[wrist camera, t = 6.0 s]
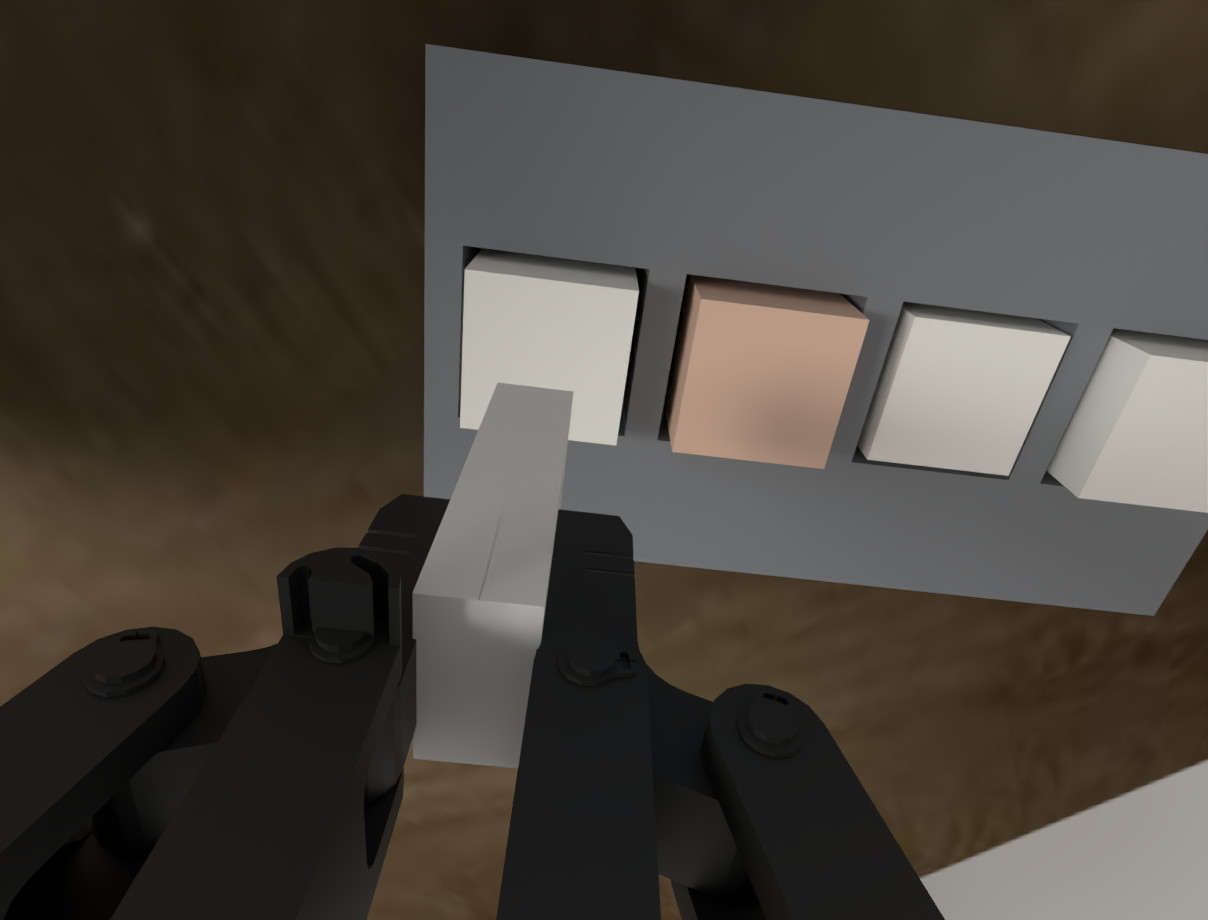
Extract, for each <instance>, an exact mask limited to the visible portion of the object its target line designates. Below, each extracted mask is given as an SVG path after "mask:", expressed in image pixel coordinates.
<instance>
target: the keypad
mask: <svg viewBox="0 0 1208 920" xmlns="http://www.w3.org/2000/svg"><path fill="white" fill-rule="evenodd" d="M480 248H486V249H494V250H501V251H509V252H517V253H525V254H533V255H541V256H549V257H557V258H565V259H572V260H580V261H588V262H596V263H604V264H612V265H620V266H628V267H636V268H642V271H641V278H640V284H639V294H638V301H637V308H636V315H635V322H634V329H633V335H632V342H631V349H630V356H629V363H628V369H627V376H626V383H625V390H624V397H623V404H622V410H621V417H620V424H619V431H618V438H617V444H616V445H607V444H598V443H589V442H580V441H572V440H568V445H567V454H566V464H565V473H564V482H563V491H562V500H561V510H570V511H579V512H588V513H597V514H606V515H615V516H620V518H621V519H622V521H623V522H624V523H625V525H626V526H627V528H628V529H629V531H630V532H631V533H632V535H633V555H634V556H633V560H634V561H637V562H647V563H656V564H666V565H675V566H685V567H694V568H704V569H713V570H723V571H732V572H742V573H751V574H761V575H770V576H780V577H789V578H799V579H808V580H818V581H827V582H837V583H846V584H856V585H865V586H875V587H884V588H894V589H903V590H913V591H922V592H932V593H941V594H951V595H960V596H970V597H979V598H989V599H998V600H1007V601H1017V602H1026V603H1036V604H1045V605H1055V606H1064V607H1074V608H1083V609H1093V610H1102V611H1112V612H1121V613H1131V614H1140V615H1150V616H1154V615H1155V613H1156V612H1157V610H1158V608H1159V607H1160V605H1161V604H1162V602H1163V600H1164V599H1165V597H1166V596H1167V594H1168V592H1169V591H1170V589H1171V588H1172V586H1173V584H1174V583H1175V581H1176V580H1177V578H1178V576H1179V575H1180V573H1181V572H1182V570H1183V568H1184V567H1185V565H1186V564H1187V562H1188V560H1189V559H1190V557H1191V556H1192V554H1193V552H1194V551H1195V549H1196V548H1197V546H1198V544H1199V543H1200V541H1201V540H1202V538H1203V536H1204V535H1205V533H1206V532H1207V530H1208V513H1205V512H1196V511H1187V510H1179V509H1170V508H1161V507H1152V506H1143V505H1135V504H1126V503H1117V502H1108V501H1099V500H1091V499H1082V498H1078V497H1076V496H1075V495H1074V494H1073V493H1072V492H1071V491H1069V490H1068V489H1067V488H1066V487H1065V486H1064V485H1062V484H1061V483H1060V482H1059V481H1058V480H1057V479H1055V478H1054V477H1053V476H1052V475H1051V474H1050V473H1049V472H1047V471H1046V470H1047V468H1048V466H1049V464H1050V461H1051V459H1052V457H1053V455H1054V453H1055V451H1056V449H1057V447H1058V445H1059V442H1060V440H1061V438H1062V436H1063V434H1064V432H1065V430H1066V428H1067V426H1068V423H1069V421H1070V419H1071V417H1072V415H1073V413H1074V411H1075V409H1076V407H1077V405H1078V402H1079V400H1080V398H1081V396H1082V394H1083V392H1084V390H1085V388H1086V386H1087V383H1088V381H1089V379H1090V377H1091V375H1092V373H1093V371H1094V369H1095V367H1096V364H1097V362H1098V360H1099V358H1100V356H1101V354H1102V352H1103V350H1104V348H1105V345H1106V343H1107V341H1108V339H1109V337H1110V335H1111V333H1112V331H1113V329H1114V328H1117V329H1125V330H1132V331H1140V332H1148V333H1156V334H1164V335H1172V336H1180V337H1188V338H1196V339H1203V340H1208V154H1204V153H1197V152H1190V151H1183V150H1176V149H1169V148H1161V147H1154V146H1147V145H1140V144H1133V143H1126V142H1119V141H1112V140H1105V139H1098V138H1090V137H1083V136H1076V135H1069V134H1062V133H1055V132H1048V131H1041V130H1034V129H1027V128H1019V127H1012V126H1005V125H998V124H991V123H984V122H977V121H970V120H963V119H956V118H949V117H941V116H934V115H927V114H920V113H913V112H906V111H899V110H892V109H885V108H878V107H870V106H863V105H856V104H849V103H842V102H835V101H828V100H821V99H814V98H807V97H800V96H792V95H785V94H778V93H771V92H764V91H757V90H750V89H743V88H736V87H729V86H721V85H714V84H707V83H700V82H693V81H686V80H679V79H672V78H665V77H658V76H650V75H643V74H636V73H629V72H622V71H615V70H608V69H601V68H594V67H587V66H580V65H572V64H565V63H558V62H551V61H544V60H537V59H530V58H523V57H516V56H509V55H501V54H494V53H487V52H480V51H473V50H466V49H459V48H452V47H445V46H438V45H431V44H425V292H424V497H433V498H442V499H451V497H452V494H453V492H454V489H455V487H456V484H457V482H458V479H459V477H460V474H461V472H462V469H463V467H464V464H465V462H466V459H467V457H468V454H469V452H470V450H471V447H472V445H473V442H474V440H475V437H476V435H477V432H478V430H475V429H466V428H460V409H461V376H462V343H463V310H464V277H465V268H466V267H467V266H468V265H469V264H470V262H471V261H472V260H473V259H474V258H475V256H476V255H477V254H478V253H479V252H480ZM687 274H691V275H699V276H707V277H714V278H722V279H730V280H738V281H746V282H754V283H762V284H770V285H777V286H785V287H793V288H801V289H809V290H817V291H825V292H833V293H839V294H840V295H841V296H843V297H844V298H845V299H846V300H847V301H848V302H850V303H851V304H852V305H853V306H854V307H855V308H856V309H858V310H859V311H860V312H861V313H862V314H863V315H865V316H866V317H867V318H868V319H869V320H870V321H869V324H868V327H867V330H866V334H865V337H864V340H863V343H862V347H861V350H860V353H859V357H858V360H857V363H856V366H855V370H854V373H853V376H852V379H851V383H850V386H849V389H848V392H847V396H846V399H845V402H844V406H843V409H842V412H841V415H840V419H839V422H838V425H837V428H836V432H835V435H834V438H833V441H832V445H831V448H830V451H829V455H828V458H827V461H826V464H825V468H824V469H818V468H809V467H800V466H792V465H783V464H774V463H765V462H756V461H748V460H739V459H730V458H721V457H712V456H704V455H695V454H686V453H677V452H672V447H671V442H670V436H669V430H668V424H667V419H666V413H665V406H666V403H664V400H665V394H666V389H667V383H668V377H669V372H670V366H671V360H672V355H673V349H674V343H675V338H676V332H677V326H678V321H679V315H680V309H681V304H682V298H683V292H684V287H685V281H686V275H687ZM903 302H912V303H919V304H927V305H935V306H943V307H951V308H959V309H967V310H975V311H983V312H990V313H998V314H1006V315H1014V316H1022V317H1030V318H1037V319H1039V320H1040V321H1042V322H1044V323H1046V324H1048V325H1050V326H1052V327H1054V328H1056V329H1058V330H1060V331H1061V332H1063V333H1065V334H1067V335H1069V336H1071V337H1070V340H1069V342H1068V344H1067V346H1066V348H1065V351H1064V353H1063V355H1062V357H1061V360H1060V362H1059V364H1058V366H1057V369H1056V371H1055V373H1054V375H1053V377H1052V380H1051V382H1050V384H1049V386H1048V389H1047V391H1046V393H1045V395H1044V398H1043V400H1042V402H1041V404H1040V407H1039V409H1038V411H1037V413H1036V415H1035V418H1034V420H1033V422H1032V424H1031V427H1030V429H1029V431H1028V433H1027V436H1026V438H1025V440H1024V442H1023V444H1022V447H1021V449H1020V451H1019V453H1018V456H1017V458H1016V460H1015V462H1014V465H1013V467H1012V469H1011V471H1010V474H1009V476H1006V475H997V474H988V473H980V472H971V471H962V470H953V469H945V468H936V467H927V466H919V465H910V464H901V463H892V462H884V461H875V460H867V459H866V457H865V456H864V454H863V453H862V452H861V450H860V449H859V447H858V446H857V443H858V440H859V437H860V434H861V431H862V428H863V425H864V422H865V419H866V416H867V413H868V410H869V406H870V403H871V400H872V397H873V394H874V391H875V388H876V385H877V382H878V379H879V376H880V373H881V370H882V366H883V363H884V360H885V357H886V354H887V351H888V348H889V345H890V342H891V339H892V336H893V333H894V330H895V326H896V323H897V320H898V317H899V314H900V311H901V308H902V305H903Z"/></svg>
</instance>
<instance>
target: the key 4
mask: <svg viewBox="0 0 1208 920" xmlns="http://www.w3.org/2000/svg"><path fill="white" fill-rule="evenodd" d="M1046 471H1047V472H1049V473H1050V474H1051V475H1052V476H1053V477H1054V478H1055V479H1057V480H1058V481H1059V482H1060V483H1061V484H1062V485H1064V486H1065V487H1066V488H1067V489H1068V490H1069V491H1071V492H1072V493H1073V494H1074V495H1075V496H1076V497H1078V498H1082V499H1091V500H1099V501H1108V502H1117V503H1126V504H1135V505H1143V506H1152V507H1161V508H1170V509H1179V510H1187V511H1196V512H1205V513H1208V340H1203V339H1196V338H1188V337H1180V336H1172V335H1164V334H1156V333H1148V332H1140V331H1132V330H1125V329H1117V328H1114V329H1113V331H1112V333H1111V335H1110V337H1109V339H1108V341H1107V343H1106V345H1105V348H1104V350H1103V352H1102V354H1101V356H1100V358H1099V360H1098V362H1097V364H1096V367H1095V369H1094V371H1093V373H1092V375H1091V377H1090V379H1089V381H1088V383H1087V386H1086V388H1085V390H1084V392H1083V394H1082V396H1081V398H1080V400H1079V402H1078V405H1077V407H1076V409H1075V411H1074V413H1073V415H1072V417H1071V419H1070V421H1069V423H1068V426H1067V428H1066V430H1065V432H1064V434H1063V436H1062V438H1061V440H1060V442H1059V445H1058V447H1057V449H1056V451H1055V453H1054V455H1053V457H1052V459H1051V461H1050V464H1049V466H1048V468H1047V470H1046Z"/></svg>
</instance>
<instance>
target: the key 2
mask: <svg viewBox="0 0 1208 920" xmlns="http://www.w3.org/2000/svg"><path fill="white" fill-rule="evenodd" d="M869 321H870V320H869V319H868V318H867V317H866V316H865V315H863V314H862V313H861V312H860V311H859V310H858V309H856V308H855V307H854V306H853V305H852V304H851V303H850V302H848V301H847V300H846V299H845V298H844V297H843V296H841V295H840V294H839V293H833V292H825V291H817V290H809V289H801V288H793V287H785V286H777V285H770V284H762V283H754V282H746V281H738V280H730V279H722V278H714V277H707V276H699V275H691V274H689V277H688V283H687V288H686V294H685V300H684V305H683V311H682V316H681V322H680V328H679V333H678V339H677V345H676V350H675V356H674V361H673V367H672V373H671V378H670V384H669V389H668V395H667V401H666V406H665V413H666V419H667V424H668V430H669V436H670V442H671V447H672V452H677V453H686V454H695V455H704V456H712V457H721V458H730V459H739V460H748V461H756V462H765V463H774V464H783V465H792V466H800V467H809V468H818V469H824V468H825V464H826V461H827V458H828V455H829V451H830V448H831V445H832V441H833V438H834V435H835V432H836V428H837V425H838V422H839V419H840V415H841V412H842V409H843V406H844V402H845V399H846V396H847V392H848V389H849V386H850V383H851V379H852V376H853V373H854V370H855V366H856V363H857V360H858V357H859V353H860V350H861V347H862V343H863V340H864V337H865V334H866V330H867V327H868V324H869Z"/></svg>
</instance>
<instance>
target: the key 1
mask: <svg viewBox="0 0 1208 920" xmlns="http://www.w3.org/2000/svg"><path fill="white" fill-rule="evenodd" d="M638 294H639V288H638V281H637V274H636V268H635V267H628V266H620V265H612V264H604V263H596V262H588V261H580V260H572V259H565V258H557V257H549V256H541V255H533V254H525V253H517V252H509V251H501V250H494V249H486V248H482V249H481V250H480V252H479V253H478V254H477V255H476V256H475V258H474V259H473V260H472V261H471V262H470V264H469V265H468V266H467V267H466V268H465V277H464V310H463V343H462V376H461V409H460V428H466V429H475V430H479V427H480V425H481V422H482V420H483V417H484V415H485V412H486V410H487V407H488V405H489V402H490V400H491V398H492V395H493V393H494V390H495V388H496V385H497V383H506V384H515V385H523V386H532V387H540V388H548V389H557V390H565V391H573V400H572V409H571V418H570V427H569V436H568V440H572V441H580V442H589V443H598V444H607V445H616V444H617V438H618V431H619V424H620V417H621V410H622V404H623V397H624V390H625V383H626V376H627V369H628V363H629V356H630V349H631V342H632V335H633V329H634V322H635V315H636V308H637V301H638Z"/></svg>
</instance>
